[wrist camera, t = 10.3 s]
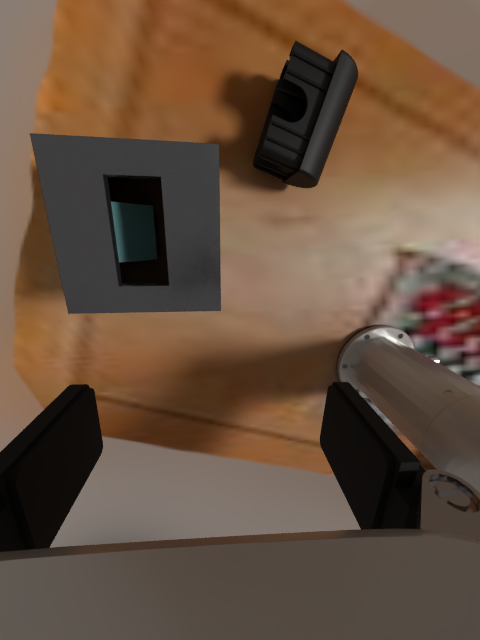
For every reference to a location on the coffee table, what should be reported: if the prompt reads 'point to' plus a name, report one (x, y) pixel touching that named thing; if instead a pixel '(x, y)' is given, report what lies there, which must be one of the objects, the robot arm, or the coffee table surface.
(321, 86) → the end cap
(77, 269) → the box
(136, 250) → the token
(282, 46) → the coffee table surface
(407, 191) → the coffee table surface
